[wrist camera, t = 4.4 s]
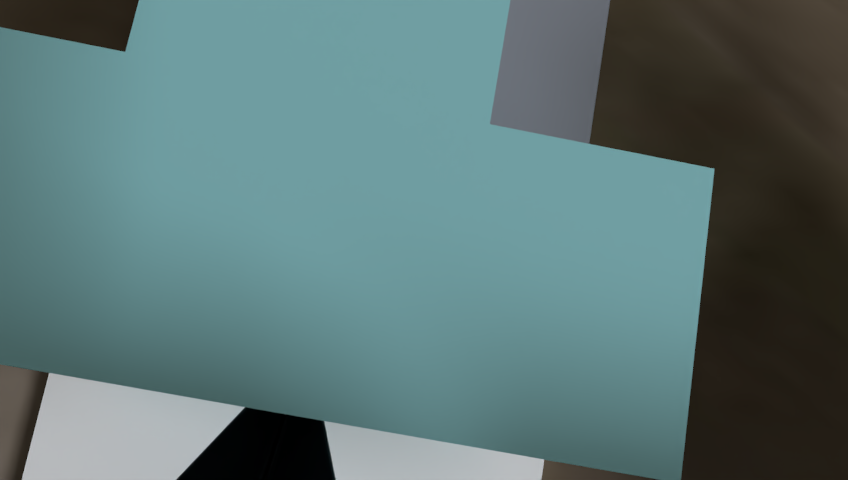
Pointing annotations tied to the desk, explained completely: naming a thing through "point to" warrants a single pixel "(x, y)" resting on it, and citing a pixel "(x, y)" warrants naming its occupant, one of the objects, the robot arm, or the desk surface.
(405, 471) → the board
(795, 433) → the desk surface
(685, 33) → the desk surface
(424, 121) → the t block
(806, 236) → the desk surface
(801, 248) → the desk surface
